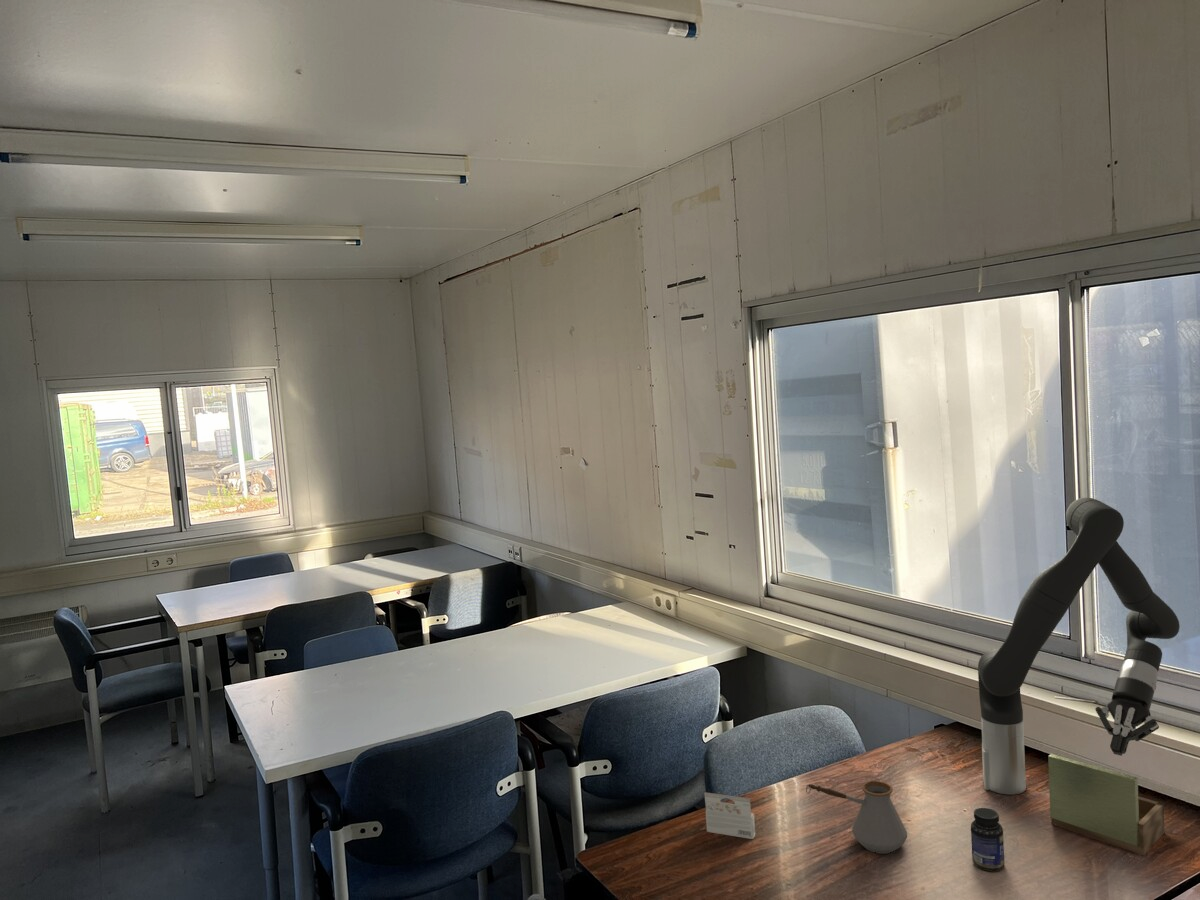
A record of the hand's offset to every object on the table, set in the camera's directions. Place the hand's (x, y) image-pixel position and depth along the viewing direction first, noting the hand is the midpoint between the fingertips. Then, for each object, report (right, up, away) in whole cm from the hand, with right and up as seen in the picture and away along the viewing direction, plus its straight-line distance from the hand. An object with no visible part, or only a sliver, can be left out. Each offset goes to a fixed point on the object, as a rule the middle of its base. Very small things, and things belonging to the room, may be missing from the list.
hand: (1116, 753), depth 189 cm
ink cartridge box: (-85, -21, +6) cm, 88 cm away
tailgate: (-10, -14, -8) cm, 18 cm away
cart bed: (-4, -15, -3) cm, 16 cm away
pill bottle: (-35, -19, -13) cm, 41 cm away
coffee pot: (-58, -20, -3) cm, 62 cm away
